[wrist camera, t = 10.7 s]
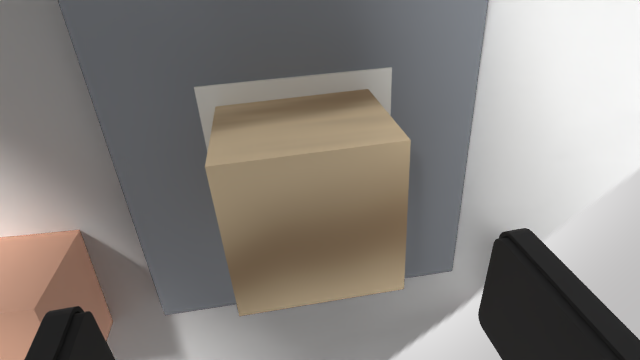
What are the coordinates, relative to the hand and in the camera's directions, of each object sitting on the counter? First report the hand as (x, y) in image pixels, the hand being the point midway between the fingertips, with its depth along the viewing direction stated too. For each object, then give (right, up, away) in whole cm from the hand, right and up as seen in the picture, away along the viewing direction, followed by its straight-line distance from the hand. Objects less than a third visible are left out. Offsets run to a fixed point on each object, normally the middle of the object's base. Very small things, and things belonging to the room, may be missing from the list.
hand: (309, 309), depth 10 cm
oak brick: (-1, +4, +8) cm, 9 cm away
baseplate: (-1, +4, +9) cm, 10 cm away
